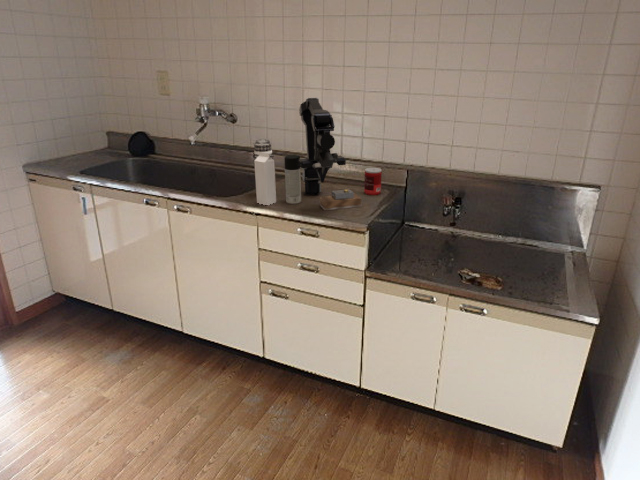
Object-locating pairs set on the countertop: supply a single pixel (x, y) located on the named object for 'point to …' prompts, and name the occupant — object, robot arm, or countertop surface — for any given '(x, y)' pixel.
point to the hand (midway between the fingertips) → (322, 182)
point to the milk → (265, 179)
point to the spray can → (292, 179)
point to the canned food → (372, 181)
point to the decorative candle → (262, 148)
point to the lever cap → (342, 194)
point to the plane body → (339, 202)
